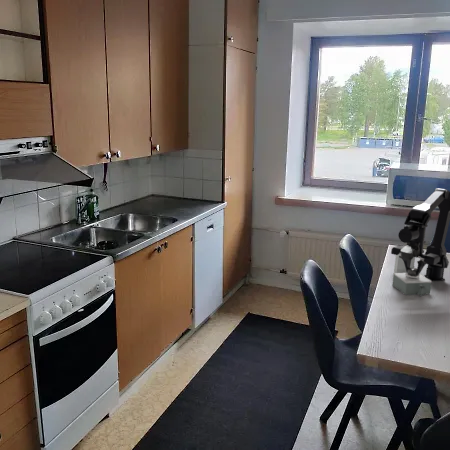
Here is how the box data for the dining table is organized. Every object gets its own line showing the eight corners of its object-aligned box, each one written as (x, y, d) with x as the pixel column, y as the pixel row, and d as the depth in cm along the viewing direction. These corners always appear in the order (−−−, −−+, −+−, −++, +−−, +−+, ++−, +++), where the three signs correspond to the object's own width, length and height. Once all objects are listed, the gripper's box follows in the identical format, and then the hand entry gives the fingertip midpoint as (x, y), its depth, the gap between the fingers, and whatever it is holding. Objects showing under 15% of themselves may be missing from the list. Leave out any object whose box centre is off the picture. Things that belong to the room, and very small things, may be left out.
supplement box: (413, 278, 213) (416, 251, 210) (395, 276, 215) (398, 250, 212) (410, 272, 220) (413, 246, 217) (393, 271, 222) (396, 245, 219)
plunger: (414, 283, 204) (417, 265, 202) (425, 290, 196) (428, 272, 194) (396, 284, 203) (398, 266, 201) (406, 291, 195) (409, 272, 193)
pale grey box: (415, 284, 206) (417, 272, 205) (434, 296, 193) (435, 283, 191) (392, 285, 204) (393, 273, 203) (409, 297, 191) (410, 285, 190)
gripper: (385, 236, 196) (382, 272, 200) (429, 247, 182) (424, 284, 186) (399, 232, 203) (396, 266, 207) (442, 242, 190) (437, 278, 193)
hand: (412, 274), depth 198 cm, fingers closed on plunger, 4 cm apart
